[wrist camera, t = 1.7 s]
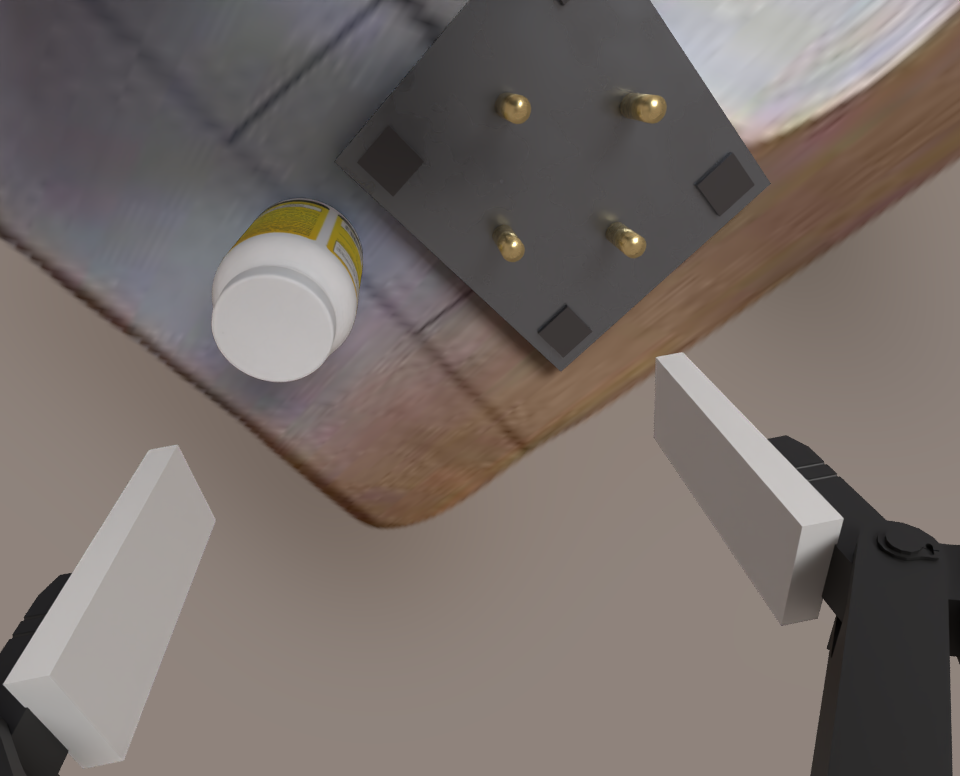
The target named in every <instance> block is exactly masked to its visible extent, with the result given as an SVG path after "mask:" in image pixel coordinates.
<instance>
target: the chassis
mask: <svg viewBox="0 0 960 776" xmlns="http://www.w3.org/2000/svg"><path fill="white" fill-rule="evenodd" d="M335 163H336V164H337V165H338V166H339V167H340V168H342V169H343V170H344V171H345V172H346V173H347V174H348V175H349V176H350V177H351V178H352V179H353V180H355V181H356V182H357V183H358V184H359V185H360V186H361V187H362V188H363V189H364V190H365V191H366V192H367V193H369V194H370V195H371V196H372V197H373V198H374V199H375V200H376V201H377V202H378V203H379V204H380V205H382V206H383V207H384V208H385V209H386V210H387V211H388V212H389V213H390V214H391V215H392V216H393V217H394V218H396V219H397V220H398V221H399V222H400V223H401V224H402V225H403V226H404V227H405V228H406V229H407V230H409V231H410V232H411V233H412V234H413V235H414V236H415V237H416V238H417V239H418V240H419V241H420V242H421V243H423V244H424V245H425V246H426V247H427V248H428V249H429V250H430V251H431V252H432V253H433V254H434V255H436V256H437V257H438V258H439V259H440V260H441V261H442V262H443V263H444V264H445V265H446V266H447V267H448V268H450V269H451V270H452V271H453V272H454V273H455V274H456V275H457V276H458V277H459V278H460V279H461V280H463V281H464V282H465V283H466V284H467V285H468V286H469V287H470V288H471V289H472V290H473V291H474V292H475V293H477V294H478V295H479V296H480V297H481V298H482V299H483V300H484V301H485V302H486V303H487V304H488V305H490V306H491V307H492V308H493V309H494V310H495V311H496V312H497V313H498V314H499V315H500V316H501V317H502V318H504V319H505V320H506V321H507V322H508V323H509V324H510V325H511V326H512V327H513V328H514V329H515V330H517V331H518V332H519V333H520V334H521V335H522V336H523V337H524V338H525V339H526V340H527V341H528V342H529V343H531V344H532V345H533V346H534V347H535V348H536V349H537V350H538V351H539V352H540V353H541V354H542V355H543V356H545V357H546V358H547V359H548V360H549V361H550V362H551V363H552V364H553V365H554V366H555V367H556V368H558V369H559V370H560V371H562V370H563V369H564V368H566V367H567V366H568V365H569V364H570V363H571V362H572V361H573V360H574V359H576V358H577V357H578V356H579V355H580V354H581V353H582V352H583V351H585V350H586V349H587V348H588V347H589V346H590V345H591V344H592V343H593V342H595V341H596V340H597V339H598V338H599V337H600V336H601V335H602V334H603V333H605V332H606V331H607V330H608V329H609V328H610V327H611V326H612V325H614V324H615V323H616V322H617V321H618V320H619V319H620V318H621V317H622V316H624V315H625V314H626V313H627V312H628V311H629V310H630V309H631V308H632V307H634V306H635V305H636V304H637V303H638V302H639V301H640V300H641V299H643V298H644V297H645V296H646V295H647V294H648V293H649V292H650V291H651V290H653V289H654V288H655V287H656V286H657V285H658V284H659V283H660V282H661V281H663V280H664V279H665V278H666V277H667V276H668V275H669V274H670V273H672V272H673V271H674V270H675V269H676V268H677V267H678V266H679V265H680V264H682V263H683V262H684V261H685V260H686V259H687V258H688V257H689V256H690V255H692V254H693V253H694V252H695V251H696V250H697V249H698V248H699V247H701V246H702V245H703V244H704V243H705V242H706V241H707V240H708V239H709V238H711V237H712V236H713V235H714V234H715V233H716V232H717V231H718V230H719V229H721V228H722V227H723V226H724V225H725V224H726V223H727V222H728V221H730V220H731V219H732V218H733V217H734V216H735V215H736V214H737V213H738V212H740V211H741V210H742V209H743V208H744V207H745V206H746V205H747V204H748V203H750V202H751V201H752V200H753V199H754V198H755V197H756V196H757V195H759V194H760V193H761V192H762V191H763V190H764V189H765V188H766V187H767V186H769V185H770V184H771V183H770V182H769V180H768V179H767V177H766V176H765V174H764V173H763V171H762V170H761V168H760V167H759V165H758V164H757V162H756V161H755V159H754V158H753V156H752V154H751V153H750V151H749V150H748V148H747V147H746V145H745V144H744V142H743V141H742V139H741V138H740V136H739V135H738V133H737V132H736V130H735V129H734V127H733V126H732V124H731V123H730V121H729V120H728V118H727V117H726V115H725V114H724V112H723V110H722V109H721V107H720V106H719V104H718V103H717V101H716V100H715V98H714V97H713V95H712V94H711V92H710V91H709V89H708V88H707V86H706V85H705V83H704V82H703V80H702V79H701V77H700V76H699V74H698V73H697V71H696V70H695V68H694V66H693V65H692V63H691V62H690V60H689V59H688V57H687V56H686V54H685V53H684V51H683V50H682V48H681V47H680V45H679V44H678V42H677V41H676V39H675V38H674V36H673V35H672V33H671V32H670V30H669V29H668V27H667V26H666V24H665V22H664V21H663V19H662V18H661V16H660V15H659V13H658V12H657V10H656V9H655V7H654V6H653V4H652V3H651V1H650V0H469V1H468V3H467V4H466V5H465V6H464V7H463V9H462V10H461V11H460V12H459V13H458V15H457V16H456V17H455V18H454V19H453V20H452V22H451V23H450V24H449V25H448V26H447V28H446V29H445V30H444V31H443V32H442V34H441V35H440V36H439V37H438V38H437V40H436V41H435V42H434V43H433V44H432V45H431V47H430V48H429V49H428V50H427V51H426V53H425V54H424V55H423V56H422V57H421V59H420V60H419V61H418V62H417V63H416V65H415V66H414V67H413V68H412V69H411V71H410V72H409V73H408V74H407V75H406V76H405V78H404V79H403V80H402V81H401V82H400V84H399V85H398V86H397V87H396V88H395V90H394V91H393V92H392V93H391V94H390V96H389V97H388V98H387V99H386V100H385V101H384V103H383V104H382V105H381V106H380V107H379V109H378V110H377V111H376V112H375V113H374V115H373V116H372V117H371V118H370V119H369V121H368V122H367V123H366V124H365V125H364V126H363V128H362V129H361V130H360V131H359V132H358V134H357V135H356V136H355V137H354V138H353V140H352V141H351V142H350V143H349V144H348V146H347V147H346V148H345V149H344V150H343V151H342V153H341V154H340V155H339V156H338V157H337V159H336V160H335Z"/></svg>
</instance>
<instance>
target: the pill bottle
mask: <svg viewBox="0 0 960 776" xmlns="http://www.w3.org/2000/svg"><path fill="white" fill-rule="evenodd" d="M362 267H363V252H362V247H361V243H360V240H359V237H358V235H357V233H356V231H355V229H354V228H353V226H352V225H351V224H350V222H349V221H348V220H347V219H346V218H345V217H344V216H343V215H342V214H341V213H340V212H338V211H337V210H336V209H334V208H333V207H331V206H329V205H327V204H325V203H322V202H320V201H317V200H312V199H306V198H294V199H288V200H284V201H281V202H278V203H276V204H274V205H272V206H271V207H269V208H268V209H266V210H265V211H264V212H263V213H262V214H261V215H260V216H259V217H258V218H257V219H256V220H255V221H254V222H253V223H252V225H251V226H250V227H249V228H248V229H247V231H246V232H245V233H244V234H243V235H242V236H241V238H240V239H239V240H238V241H237V242H236V244H235V245H234V246H233V247H232V248H231V249H230V251H229V252H228V253H227V254H226V256H225V257H224V258H223V260H222V261H221V263H220V265H219V267H218V269H217V271H216V273H215V277H214V280H213V285H212V303H213V312H212V320H211V325H212V333H213V337H214V340H215V342H216V344H217V346H218V348H219V350H220V351H221V353H222V354H223V355H224V356H225V358H226V359H227V360H228V361H229V362H230V363H231V364H232V365H234V366H235V367H236V368H237V369H239V370H240V371H242V372H244V373H246V374H248V375H250V376H252V377H254V378H257V379H260V380H265V381H271V382H289V381H294V380H297V379H301V378H303V377H306V376H307V375H309V374H311V373H312V372H314V371H315V370H317V369H318V368H319V367H320V366H321V365H322V364H323V363H324V361H325V360H326V359H327V357H328V356H329V355H330V354H332V353H333V352H334V351H335V350H336V349H338V348H339V347H340V346H341V345H342V344H343V342H344V341H345V340H346V338H347V337H348V335H349V333H350V332H351V329H352V327H353V324H354V321H355V317H356V312H357V304H358V296H359V288H360V282H361V275H362Z"/></svg>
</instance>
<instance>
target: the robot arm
mask: <svg viewBox="0 0 960 776" xmlns="http://www.w3.org/2000/svg"><path fill="white" fill-rule="evenodd" d="M654 439H655V440H656V442H657V443H658V445H659V446H660V448H661V449H662V451H663V452H664V453H665V455H666V456H667V458H668V459H669V461H670V462H671V464H672V465H673V467H674V468H675V470H676V471H677V473H678V474H679V476H680V477H681V478H682V480H683V481H684V483H685V485H686V486H687V487H688V489H689V490H690V492H691V493H692V495H693V496H694V498H695V499H696V501H697V502H698V504H699V505H700V507H701V508H702V510H703V511H704V512H705V514H706V516H707V517H708V518H709V520H710V521H711V523H712V524H713V526H714V527H715V529H716V530H717V532H718V533H719V535H720V536H721V538H722V539H723V541H724V542H725V543H726V545H727V546H728V548H729V549H730V551H731V552H732V554H733V555H734V557H735V558H736V560H737V561H738V563H739V564H740V566H741V567H742V569H743V570H744V572H745V573H746V574H747V576H748V578H749V579H750V580H751V582H752V583H753V585H754V586H755V588H756V589H757V591H758V592H759V594H760V595H761V597H762V598H763V600H764V601H765V603H766V604H767V606H768V607H769V608H770V610H771V611H772V613H773V614H774V616H775V617H776V619H777V620H778V622H779V623H780V625H781V626H783V625H788V624H792V623H798V622H803V621H808V620H813V619H817V618H818V615H819V611H820V608H821V604H822V600H823V599H824V600H825V602H826V603H827V604H828V605H829V607H830V608H831V609H832V610H833V612H834V613H835V614H836V618H835V621H834V625H833V628H832V632H831V635H830V639H829V642H828V646H827V649H828V650H830V651H829V657H828V664H827V670H826V677H825V684H824V690H823V696H822V703H821V710H820V716H819V723H818V730H817V736H816V743H815V749H814V756H813V762H812V769H811V775H810V776H952V736H951V699H950V698H951V693H950V656H956V657H957V658H958V661H959V664H960V545H949V544H948V545H947V544H940V543H938V542H937V541H936V540H935V539H934V538H933V537H932V536H930V535H929V534H927V533H925V532H924V531H922V530H920V529H919V528H916V527H913V526H910V525H907V524H904V523H900V522H893V521H887V520H885V519H884V518H883V517H882V516H881V515H880V514H879V513H878V512H877V511H876V510H875V509H874V508H873V507H872V506H871V505H870V504H869V503H867V502H866V501H865V500H864V499H863V498H862V497H861V496H860V495H859V494H858V493H857V492H856V491H855V490H854V489H853V488H852V487H851V486H849V485H848V484H847V483H846V482H845V481H844V480H843V479H842V478H841V477H838V476H837V473H836V472H835V471H834V470H833V469H831V468H830V467H829V466H828V465H827V464H826V465H825V464H824V461H823V460H822V459H821V458H820V457H819V456H818V455H817V454H816V453H815V452H813V451H812V450H811V449H810V448H809V447H808V446H806V445H804V444H802V443H800V442H798V441H796V440H794V439H792V438H790V437H789V436H781V437H775V438H771V439H766V438H765V437H764V436H763V435H762V434H761V433H760V432H759V430H758V429H756V427H755V426H754V425H753V424H752V423H751V422H750V421H749V420H748V419H747V418H746V417H745V416H744V415H743V414H742V413H741V412H740V411H739V410H738V409H737V408H736V407H735V406H734V405H733V404H732V403H731V402H730V401H729V400H728V398H727V397H726V396H725V395H724V394H723V393H722V392H721V391H720V390H719V389H718V388H717V387H716V386H715V385H714V384H713V383H712V382H711V381H710V380H709V379H708V378H707V377H706V376H705V375H704V374H703V373H702V372H701V371H700V370H699V369H698V368H697V366H696V365H695V364H694V363H693V362H692V361H691V360H690V359H689V358H688V357H687V356H686V355H685V354H684V353H683V352H682V353H676V354H671V355H665V356H660V357H656V373H655V410H654ZM215 521H216V519H215V517H214V515H213V513H212V511H211V510H210V507H209V505H208V503H207V501H206V499H205V497H204V495H203V493H202V491H201V489H200V487H199V486H198V483H197V481H196V480H195V477H194V475H193V474H192V472H191V470H190V468H189V466H188V464H187V462H186V460H185V458H184V456H183V454H182V452H181V450H180V448H179V446H178V445H173V446H167V447H162V448H156V449H151V450H149V451H148V452H147V454H146V455H145V457H144V459H143V460H142V462H141V463H140V465H139V467H138V468H137V470H136V471H135V473H134V475H133V476H132V478H131V479H130V481H129V483H128V484H127V486H126V487H125V489H124V491H123V492H122V494H121V495H120V497H119V499H118V500H117V502H116V503H115V505H114V507H113V508H112V510H111V512H110V513H109V515H108V516H107V518H106V520H105V521H104V523H103V525H102V526H101V528H100V529H99V531H98V532H97V534H96V536H95V537H94V539H93V541H92V542H91V544H90V545H89V547H88V549H87V550H86V552H85V553H84V555H83V557H82V558H81V560H80V561H79V563H78V565H77V566H76V568H75V569H74V571H73V573H69V574H63V575H60V576H58V577H57V578H56V579H55V580H54V581H53V582H52V583H51V584H50V585H49V586H48V587H47V588H46V589H45V590H44V591H43V592H42V593H41V594H39V595H38V597H37V598H36V600H35V601H34V603H33V604H32V606H31V607H30V609H29V610H28V612H27V613H26V615H25V616H24V621H21V622H20V624H19V625H18V627H17V629H16V630H15V632H14V633H13V638H12V639H9V641H8V642H7V644H6V645H5V647H4V648H3V650H2V651H1V653H0V776H60V775H59V774H58V773H59V770H60V768H61V766H62V764H63V762H64V760H65V758H66V756H67V753H69V754H70V756H72V757H73V759H74V760H75V761H77V763H78V764H79V765H80V766H81V767H82V768H83V769H85V768H90V767H95V766H100V765H104V764H109V763H114V762H119V761H124V758H125V755H126V753H127V750H128V748H129V745H130V743H131V740H132V738H133V735H134V732H135V730H136V727H137V724H138V721H139V719H140V717H141V714H142V712H143V709H144V706H145V704H146V701H147V699H148V696H149V693H150V691H151V688H152V685H153V683H154V680H155V678H156V675H157V672H158V670H159V667H160V665H161V662H162V659H163V657H164V654H165V652H166V649H167V646H168V644H169V641H170V639H171V636H172V633H173V631H174V628H175V626H176V623H177V620H178V617H179V615H180V613H181V610H182V607H183V604H184V602H185V600H186V597H187V594H188V592H189V589H190V587H191V584H192V581H193V579H194V576H195V574H196V571H197V568H198V566H199V563H200V560H201V558H202V555H203V553H204V550H205V547H206V545H207V542H208V540H209V537H210V534H211V532H212V529H213V527H214V524H215Z"/></svg>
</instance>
